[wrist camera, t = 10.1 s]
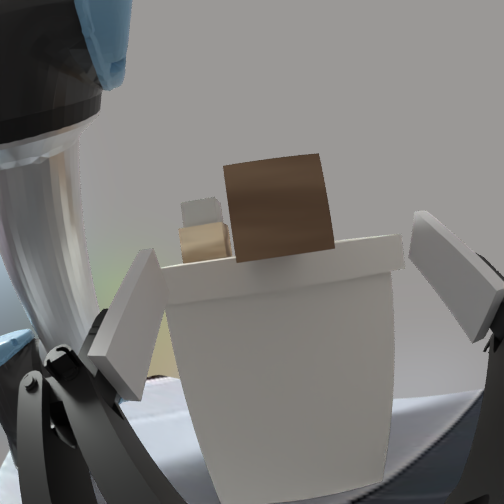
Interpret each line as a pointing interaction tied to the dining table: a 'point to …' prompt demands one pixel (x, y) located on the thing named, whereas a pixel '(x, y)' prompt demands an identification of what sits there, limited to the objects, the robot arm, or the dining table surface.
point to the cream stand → (288, 367)
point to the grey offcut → (201, 212)
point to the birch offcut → (205, 242)
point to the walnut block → (278, 207)
